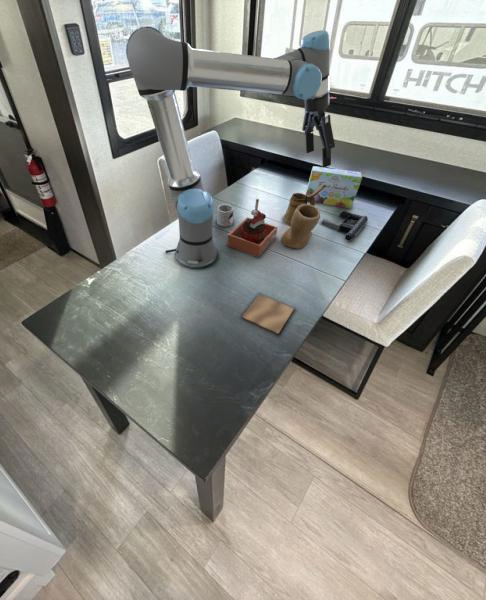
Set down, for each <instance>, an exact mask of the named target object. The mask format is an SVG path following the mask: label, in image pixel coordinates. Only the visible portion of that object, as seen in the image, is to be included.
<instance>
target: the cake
mask: <svg viewBox="0 0 486 600" xmlns="http://www.w3.org/2000/svg"><path fill="white" fill-rule="evenodd" d="M259 201H260V199H259V198H256V199H255V207H254V209H252V210H251V211H250V214H251V216H253V217H252V218H251V219H248V220H246V221H245V222H244V224H243V226H241V235H240V236H239V238H242V239H245V240H248V241H251V242H253V243H256V244H259V245H260V243H261V242H262V241H263V240H264V239H265V238H266V237H267V236H266V228H265V225H264V223H266V220H265V219H266V217H267V215H266V214H265V213H263V212H261V211H260V210H258V208H259Z"/></svg>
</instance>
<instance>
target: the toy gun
mask: <svg viewBox="0 0 486 600" xmlns="http://www.w3.org/2000/svg"><path fill="white" fill-rule="evenodd" d="M339 216H340V218H343V219H344V220H343V221H342V223H338V222H336V221H331V220H328V219H322V220H321V224H320V225H322V226H326V227H329V228H332V229H336V230H338V232H340V233H343V234H345V236H344V238H345V240H346V241H348V242H349V241H351V240H353V239H355V236H356V237H357V235H358V234H359V232H360V231H361V230H362V229H363V227H364V225H365V224H368V222H369V218H368V216H367V215H360V214H357V213H352V212H349V211H345V210H342V211H341V212H340V214H339ZM349 220H350V223H354V224H350V223H347V222H348V221H349Z"/></svg>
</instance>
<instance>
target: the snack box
mask: <svg viewBox="0 0 486 600" xmlns="http://www.w3.org/2000/svg"><path fill="white" fill-rule="evenodd" d="M308 180H309V181H308V184H307V188H306V192H305V195H306V196H311V195H312V194H313V193H314V192H315V191H316V190H317V189H318V188H319V187H320V186H322V185H324V184H325V185H326V187H325V188H324V189H323V190H322V191H321V192H319V193H318V194H317V195H316V196H314V198H315V204H319V205H327V206H332V207H337V208H338V207H339V208H345V209H351V208H352V207H353V204H354V202H355V198H356V196H357V193H358V190H359V188H360V185H361V183H362V180H363V173H362V172H361V171H351V170H344V169H337V168H332V167H331V168H329V167H324V168H323V166H316V165H313V166H312V168H311V172H310V176H309V179H308Z"/></svg>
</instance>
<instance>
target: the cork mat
mask: <svg viewBox="0 0 486 600" xmlns="http://www.w3.org/2000/svg"><path fill="white" fill-rule="evenodd" d="M294 311H295V308H294V307H291V306H289V305H287V304H285V303H282V302H279V301H277V300H275V299H272V298H271V297H268V296H265V295H264V294H260V293H259V294H258V295H257V296H256V298H255V299H254V300H253V302H252V303H251V304H250V306H249V307H248V308H247V309H246V311H245V312H244V313H243V315H242V316H241V318H242V319H244V320H246V321H248V322H250V323H253V324H255V325H256V326H258V327H261V328H263V329H265V330H268V331H270V332H272V333H274V334H276V335H280V332H281V331H282V329H283V328H284V327H285V325H286V323H287V322H288V320H289V318H290V316H291V315H292V313H293V312H294Z"/></svg>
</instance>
